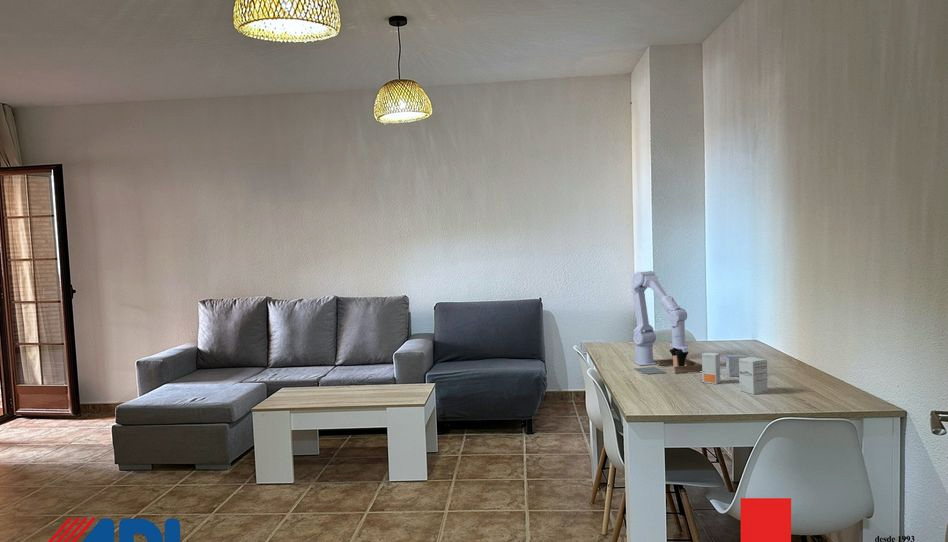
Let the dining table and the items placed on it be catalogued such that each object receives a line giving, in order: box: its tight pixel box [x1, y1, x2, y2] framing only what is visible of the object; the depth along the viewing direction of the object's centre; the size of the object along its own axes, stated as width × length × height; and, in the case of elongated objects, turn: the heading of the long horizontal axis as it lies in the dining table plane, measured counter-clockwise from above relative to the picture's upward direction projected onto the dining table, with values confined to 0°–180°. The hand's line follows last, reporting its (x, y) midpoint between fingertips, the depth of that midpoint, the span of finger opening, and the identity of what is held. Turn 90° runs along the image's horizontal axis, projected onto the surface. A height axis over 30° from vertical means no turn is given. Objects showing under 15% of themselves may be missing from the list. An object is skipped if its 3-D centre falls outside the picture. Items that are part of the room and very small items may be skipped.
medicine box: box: [725, 354, 749, 378], centre depth 295 cm, size 8×4×9 cm, turn 84°
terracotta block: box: [672, 355, 685, 368], centre depth 315 cm, size 4×4×6 cm
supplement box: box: [738, 356, 769, 395], centre depth 265 cm, size 7×7×13 cm
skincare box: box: [701, 352, 721, 385], centre depth 284 cm, size 6×4×12 cm
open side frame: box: [657, 358, 702, 374], centre depth 315 cm, size 19×13×3 cm
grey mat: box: [633, 366, 666, 375], centre depth 313 cm, size 13×10×1 cm
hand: (679, 365), depth 315 cm, fingers closed on terracotta block, 4 cm apart
